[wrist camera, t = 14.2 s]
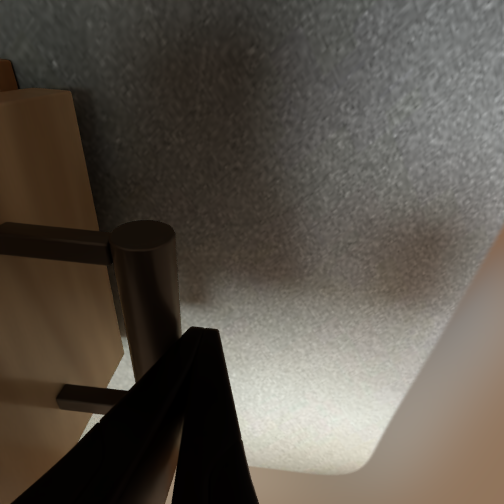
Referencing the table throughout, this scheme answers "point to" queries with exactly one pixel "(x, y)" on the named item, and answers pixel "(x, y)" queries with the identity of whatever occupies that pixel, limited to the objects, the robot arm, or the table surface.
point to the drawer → (67, 290)
